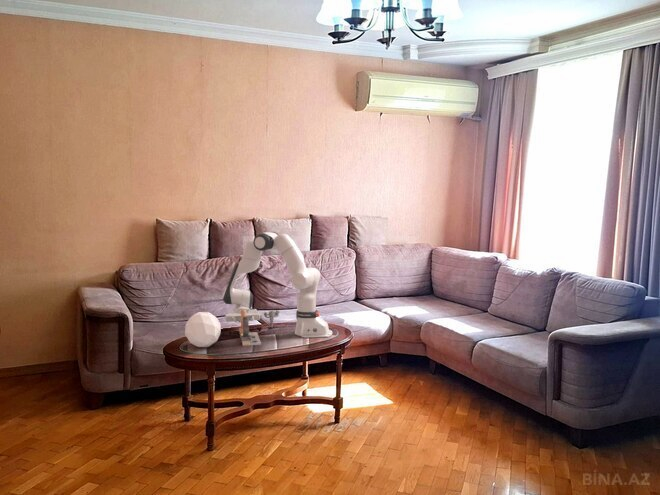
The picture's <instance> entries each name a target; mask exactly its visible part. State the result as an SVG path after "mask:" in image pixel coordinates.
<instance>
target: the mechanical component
mask: <svg viewBox="0 0 660 495" xmlns="http://www.w3.org/2000/svg"><path fill="white" fill-rule="evenodd" d="M279 314H280V310H276V309H275V310H269V311H268V312H267V311H265V312H264V313H263V315H264V316H263V317H264V318H265V319H269V324H270V328H273V327H274V320H275V319H274V318H278V317H279Z"/></svg>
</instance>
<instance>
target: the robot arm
mask: <svg viewBox="0 0 660 495" xmlns="http://www.w3.org/2000/svg"><path fill="white" fill-rule="evenodd" d="M272 250H277V253H279V255H280V257H281V258H282V260H283V261H284V263H285V264H286V267H287V269H288V271H289V274H290V276H291V284H292V286H293V287H294V288H295V289H297V290H299V292H298V294H297V297H296V301H297V302H296V304H297V305H296V312H295V315H296V317H295V318H296V324H295V325H296V326H295V331H294V335H296V336H298V337H301V338H303V339H304V338H328V337H331V336H333V331H332V330H331V329H329V324H328V322H327V321H326V320H324V319H323V318H322V317H321V316H320V310H317V309H316V308H317V306H316V304H317V300H316V299H317V292H318V287H319V282H320V281H321V276H322V275H321V272H320V270H319V269H318V268H315V267H311V266H310V267H307V266H306V264H305V258H304V257H305V256H304V255H303V253H302V252H301V250H300V248H299V247H298V246H297V244H296V243H295V241H294V240H293V239H292V238H291V237H290V236H289V235H288V233H280V234H279V233H277V232H275V231H265V232H261V233H258V234H257V235H255V237H254V239H250V240H248V241H247V242H246V244H245V247H244V250H243V254H242V258H241V259H240V261H239V262H237V263H236V264H235V265H234V267H233V269H232V272H231V273H230V277H229V279H228V281H227V285H226V287H225V289H224V290H223V293H222V297H221V298H222V299H221V300H222V302H223V303H225V305H235V306H234V308H233V312H229V313H226V314H225V315H224V319H225V322H228V323H231V322H235V323H236V322H238V323H241V310H246V316H248V322H254V321H260V320H261V313H260V312H259V311H257V309H256V308H252V307H253V303H254V295H253V293H252V291H250V290H247V289H238V288H234V287H235V284H236V282H237V279H238V278H239V277H240V276H241V275H244V274H248V273H249V274H250V273H252V272H254V271H256V270H258V268H259V266H260V264H261V259H262V255H263V253H264V252H266V251H272Z"/></svg>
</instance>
